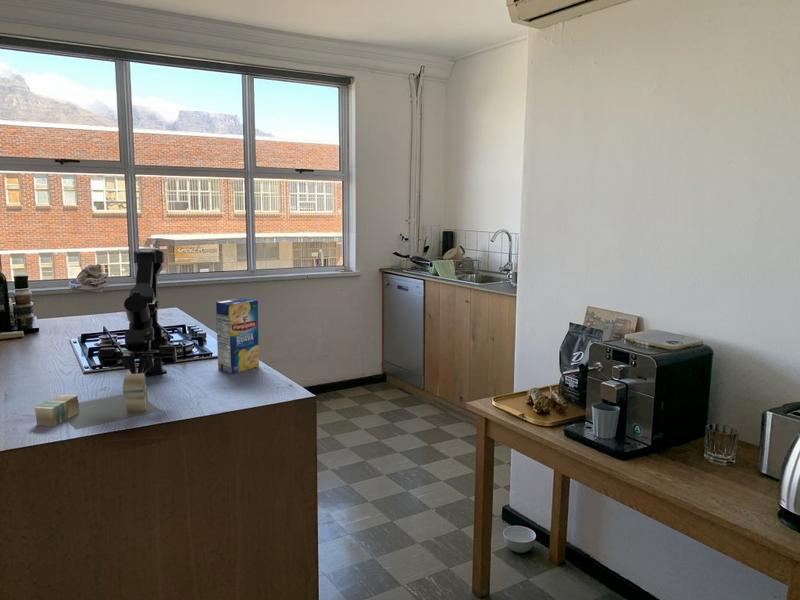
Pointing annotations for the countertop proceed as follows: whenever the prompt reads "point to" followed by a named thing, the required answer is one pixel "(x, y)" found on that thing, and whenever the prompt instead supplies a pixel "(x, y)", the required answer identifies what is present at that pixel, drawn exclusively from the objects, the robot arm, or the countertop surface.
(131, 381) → the post
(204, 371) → the countertop surface
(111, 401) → the mat
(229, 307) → the beverage box
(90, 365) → the countertop surface
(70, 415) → the beige striped block
